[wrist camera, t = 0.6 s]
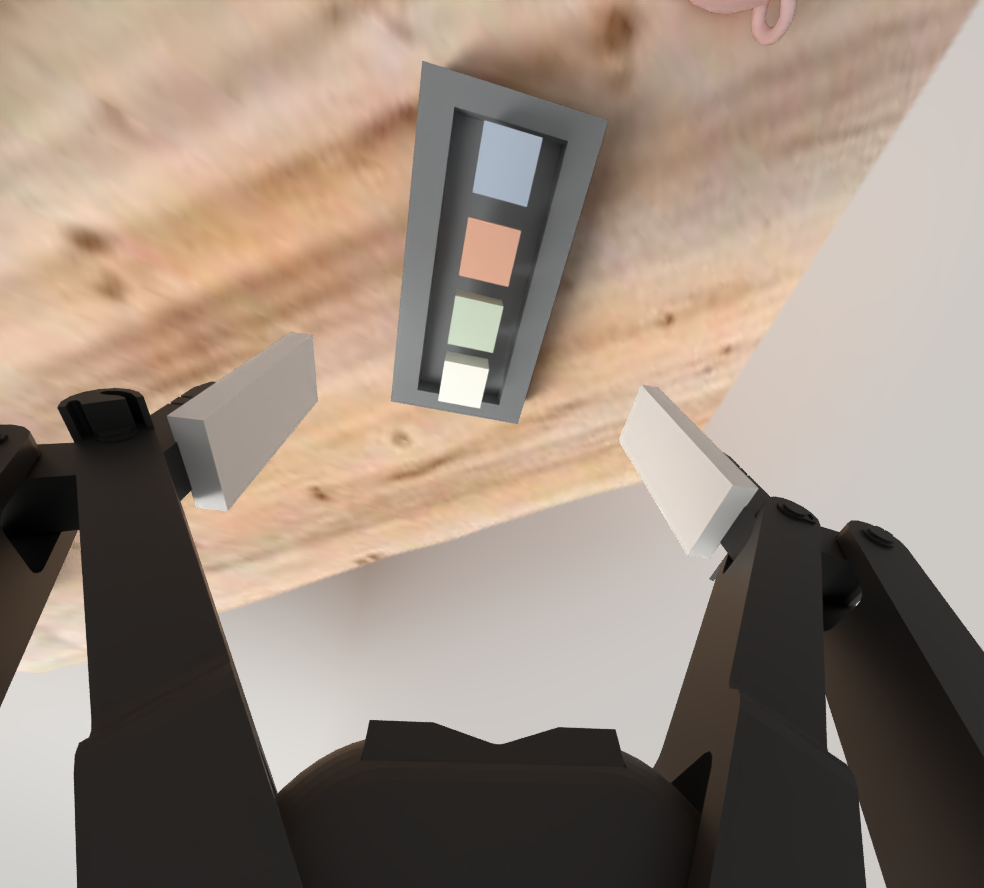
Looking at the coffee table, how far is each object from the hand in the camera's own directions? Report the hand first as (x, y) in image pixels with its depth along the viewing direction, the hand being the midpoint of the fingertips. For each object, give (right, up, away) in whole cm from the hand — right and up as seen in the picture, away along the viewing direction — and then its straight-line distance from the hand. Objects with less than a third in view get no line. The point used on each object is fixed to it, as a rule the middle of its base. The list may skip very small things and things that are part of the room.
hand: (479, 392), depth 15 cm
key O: (-2, +4, +18) cm, 18 cm away
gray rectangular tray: (0, +12, +17) cm, 21 cm away
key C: (-1, +8, +15) cm, 17 cm away
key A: (+1, +16, +10) cm, 19 cm away
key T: (0, +12, +13) cm, 18 cm away
